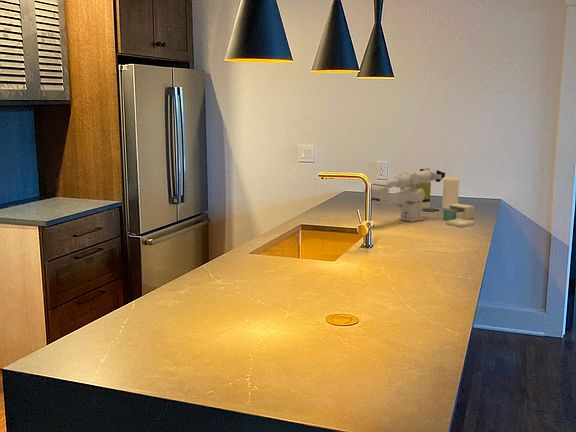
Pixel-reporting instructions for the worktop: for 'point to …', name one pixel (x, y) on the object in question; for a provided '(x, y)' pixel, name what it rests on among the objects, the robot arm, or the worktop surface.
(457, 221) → the tray
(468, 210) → the bay
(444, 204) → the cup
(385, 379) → the worktop surface
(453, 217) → the tall grey-green carton
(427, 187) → the tea box
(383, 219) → the worktop surface
